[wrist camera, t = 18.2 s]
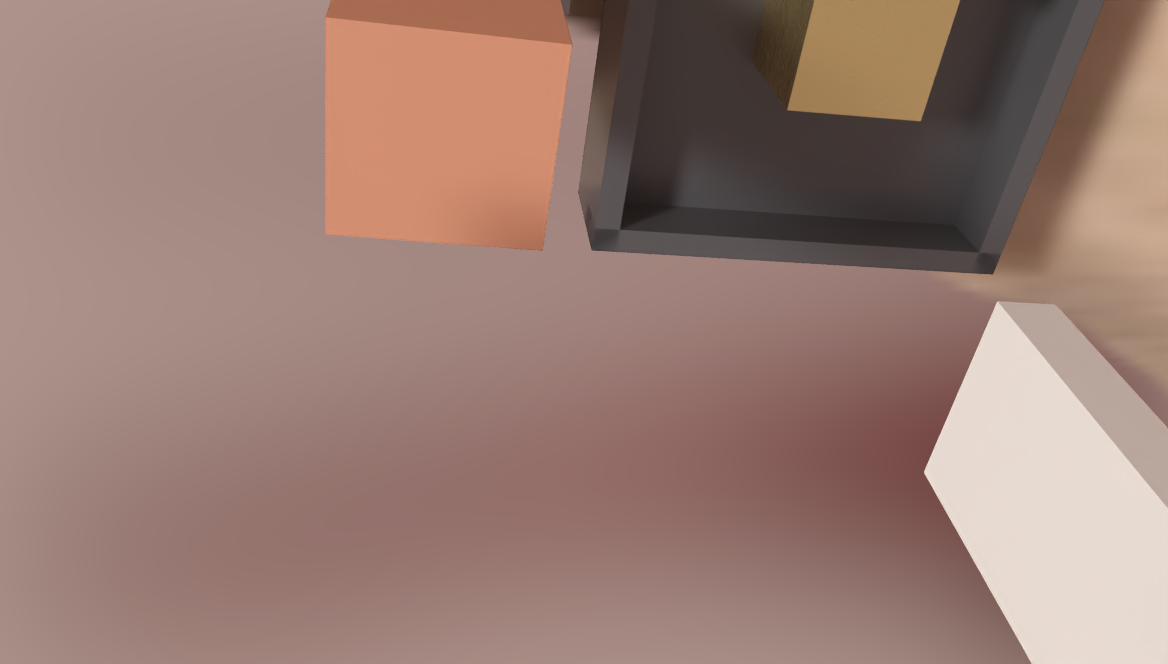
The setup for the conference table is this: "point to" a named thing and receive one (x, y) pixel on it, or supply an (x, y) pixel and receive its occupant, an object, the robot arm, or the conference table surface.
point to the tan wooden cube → (853, 54)
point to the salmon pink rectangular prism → (444, 118)
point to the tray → (818, 141)
